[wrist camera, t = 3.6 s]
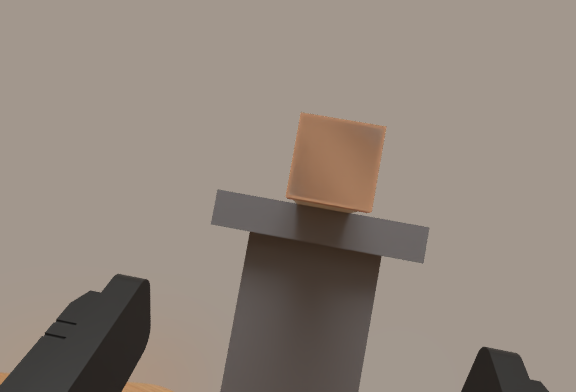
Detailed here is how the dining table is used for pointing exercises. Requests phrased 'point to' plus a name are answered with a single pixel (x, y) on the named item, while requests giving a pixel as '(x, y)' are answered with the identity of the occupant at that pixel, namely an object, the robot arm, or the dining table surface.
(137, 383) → the dining table surface
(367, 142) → the bar
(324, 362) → the pedestal
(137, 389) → the dining table surface
